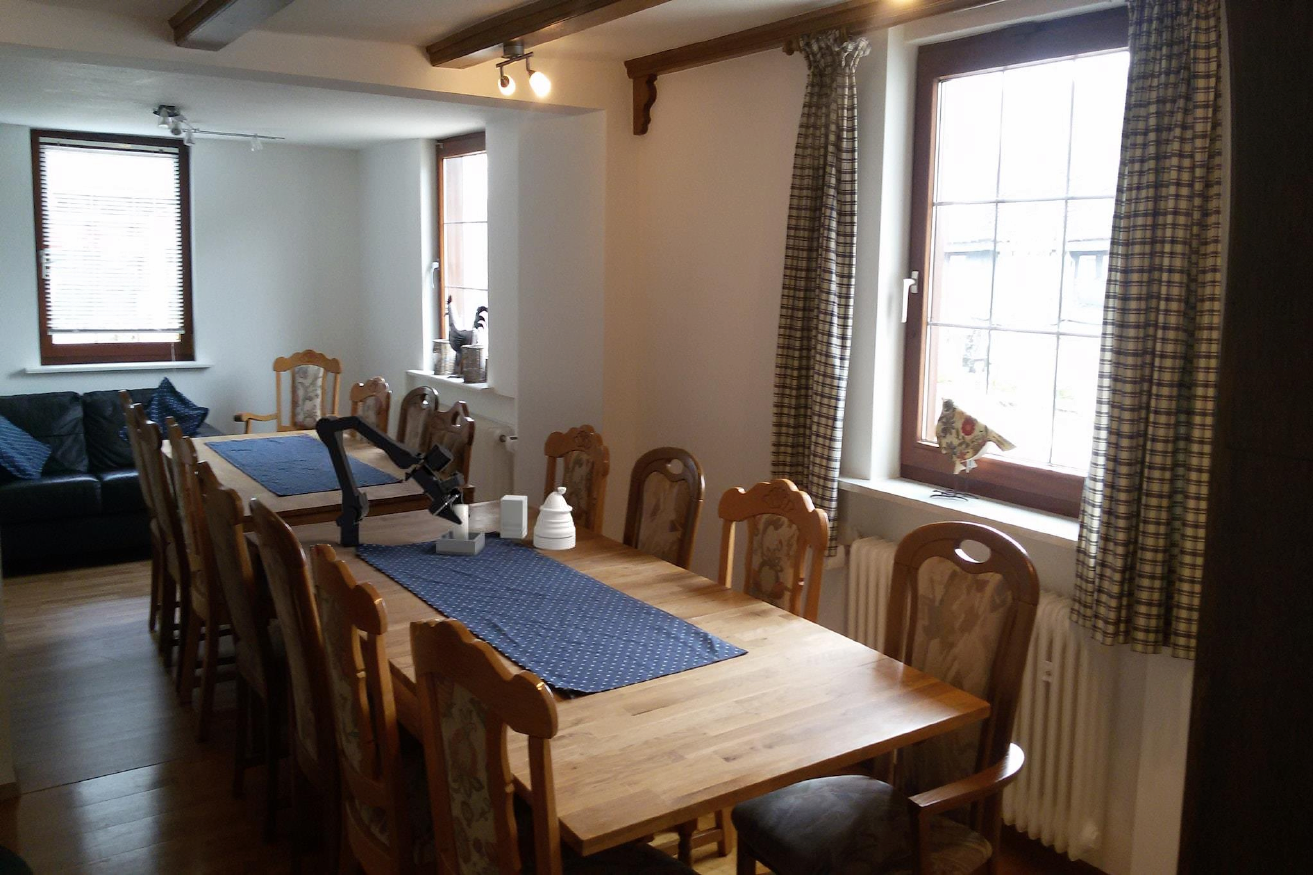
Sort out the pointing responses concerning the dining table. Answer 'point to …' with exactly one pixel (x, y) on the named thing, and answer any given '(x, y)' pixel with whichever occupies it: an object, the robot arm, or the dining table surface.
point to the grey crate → (460, 544)
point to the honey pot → (554, 524)
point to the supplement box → (513, 517)
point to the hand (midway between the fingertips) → (465, 520)
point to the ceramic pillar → (462, 530)
